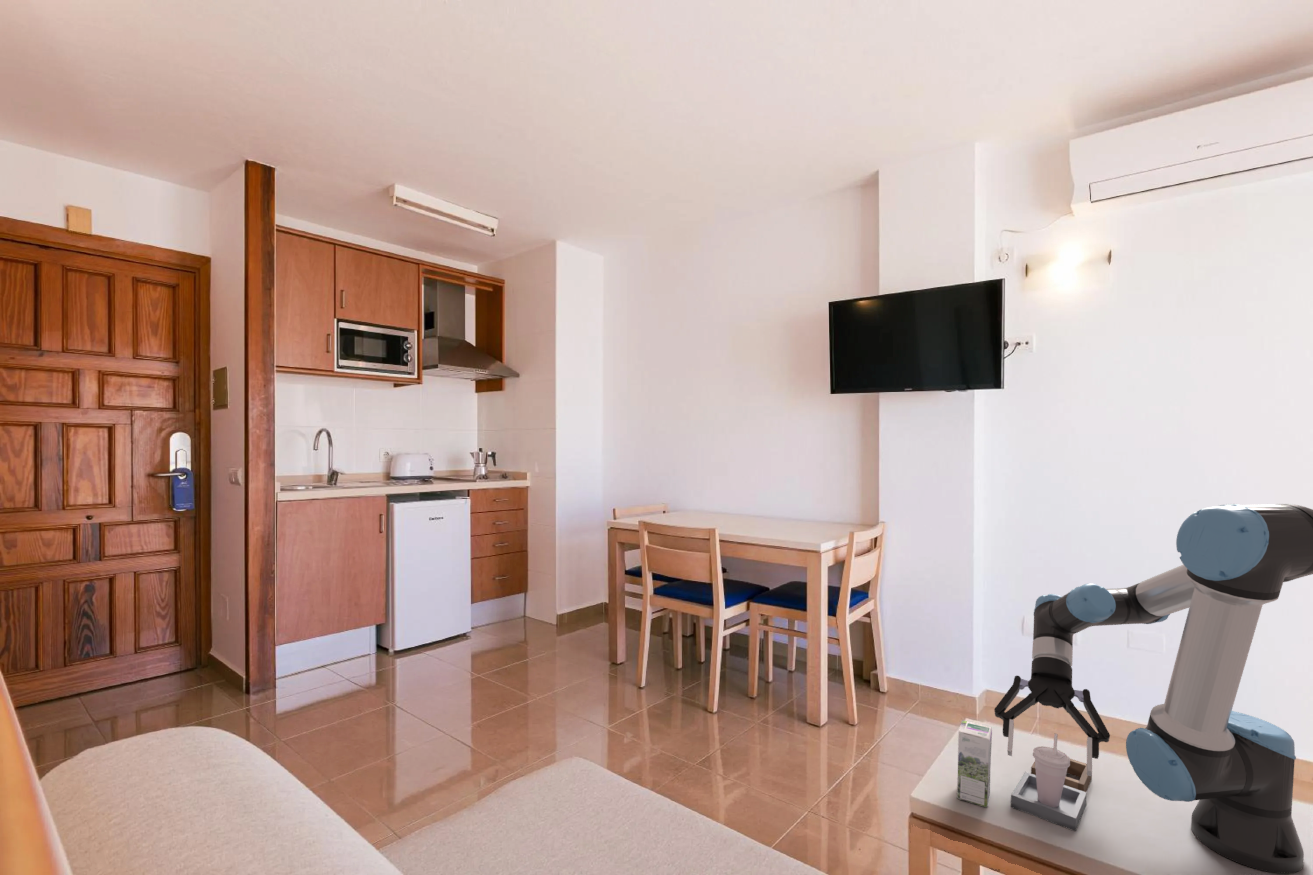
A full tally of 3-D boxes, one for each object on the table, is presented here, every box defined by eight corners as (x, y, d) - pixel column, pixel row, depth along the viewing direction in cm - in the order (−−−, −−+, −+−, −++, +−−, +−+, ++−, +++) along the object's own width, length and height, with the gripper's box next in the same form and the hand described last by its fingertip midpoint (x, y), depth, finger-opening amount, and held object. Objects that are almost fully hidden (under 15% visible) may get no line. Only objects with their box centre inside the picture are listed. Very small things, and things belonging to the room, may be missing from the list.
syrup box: (990, 793, 133) (992, 725, 132) (987, 809, 128) (989, 737, 127) (960, 785, 136) (961, 718, 136) (956, 799, 131) (957, 730, 131)
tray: (1086, 804, 130) (1086, 792, 130) (1075, 831, 122) (1076, 818, 121) (1024, 782, 137) (1025, 771, 137) (1010, 806, 129) (1011, 794, 129)
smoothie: (1073, 813, 126) (1077, 744, 125) (1037, 808, 127) (1041, 740, 126) (1059, 793, 132) (1063, 727, 131) (1025, 789, 133) (1029, 723, 132)
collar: (1091, 778, 139) (1092, 765, 138) (1083, 798, 132) (1083, 784, 131) (1041, 762, 145) (1041, 749, 145) (1030, 780, 138) (1031, 766, 138)
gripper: (1120, 683, 137) (1123, 788, 125) (988, 659, 150) (979, 751, 138) (1123, 668, 132) (1127, 775, 120) (986, 644, 145) (977, 738, 133)
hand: (1048, 763), depth 129 cm, fingers open, 13 cm apart
